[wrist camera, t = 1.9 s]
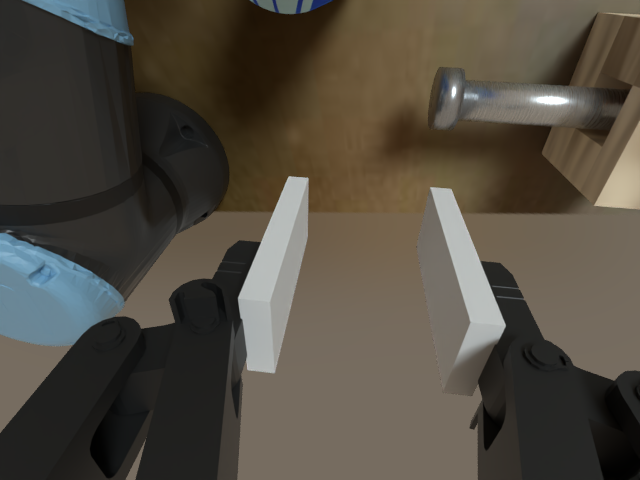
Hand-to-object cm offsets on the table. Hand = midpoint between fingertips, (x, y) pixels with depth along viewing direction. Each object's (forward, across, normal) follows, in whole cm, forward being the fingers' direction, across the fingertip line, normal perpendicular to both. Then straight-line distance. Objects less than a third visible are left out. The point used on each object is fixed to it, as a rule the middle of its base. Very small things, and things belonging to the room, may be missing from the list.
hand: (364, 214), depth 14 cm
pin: (+21, +13, 0) cm, 25 cm away
